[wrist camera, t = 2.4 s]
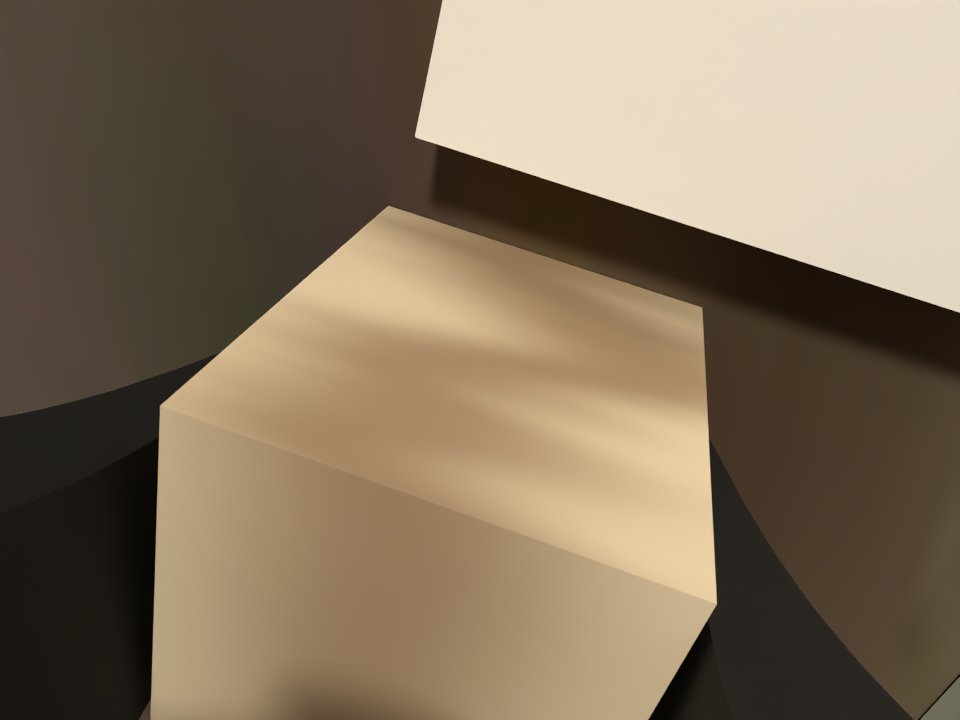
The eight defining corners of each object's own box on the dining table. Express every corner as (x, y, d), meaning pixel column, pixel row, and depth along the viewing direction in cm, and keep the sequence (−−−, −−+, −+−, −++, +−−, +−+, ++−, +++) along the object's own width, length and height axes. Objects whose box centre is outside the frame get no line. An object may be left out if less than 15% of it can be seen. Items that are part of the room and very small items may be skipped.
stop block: (702, 307, 11) (717, 603, 6) (596, 544, 14) (545, 892, 9) (388, 206, 12) (160, 405, 7) (341, 453, 14) (150, 736, 9)
